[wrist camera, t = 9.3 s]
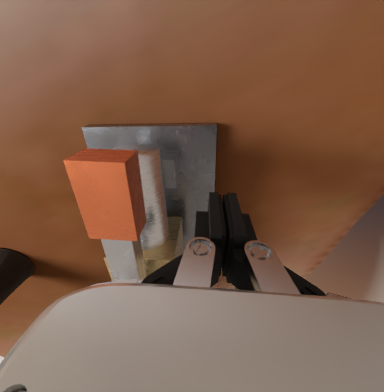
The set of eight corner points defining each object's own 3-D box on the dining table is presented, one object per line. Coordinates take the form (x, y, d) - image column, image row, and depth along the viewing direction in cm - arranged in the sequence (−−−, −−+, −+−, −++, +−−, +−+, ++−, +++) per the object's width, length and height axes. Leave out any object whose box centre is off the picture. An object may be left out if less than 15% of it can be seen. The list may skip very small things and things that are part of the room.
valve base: (210, 280, 33) (211, 348, 25) (131, 277, 34) (107, 341, 26) (216, 122, 20) (223, 150, 12) (89, 124, 21) (9, 151, 13)
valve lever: (158, 292, 19) (151, 323, 16) (128, 289, 19) (117, 321, 17) (142, 145, 12) (124, 162, 9) (93, 143, 12) (63, 160, 9)
